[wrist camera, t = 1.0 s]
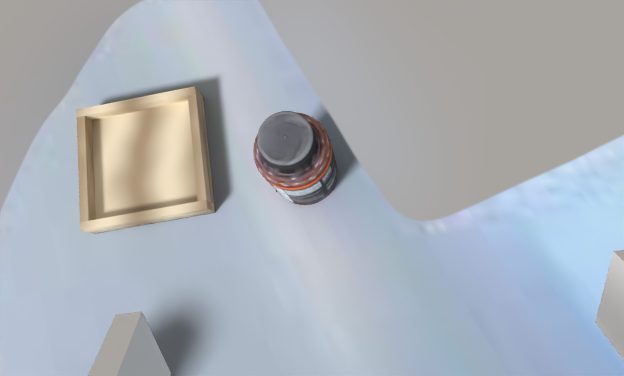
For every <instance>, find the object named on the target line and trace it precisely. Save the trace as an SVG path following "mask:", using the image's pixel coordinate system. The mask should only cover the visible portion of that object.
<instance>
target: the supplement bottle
mask: <svg viewBox="0 0 624 376" xmlns="http://www.w3.org/2000/svg"><path fill="white" fill-rule="evenodd" d="M254 160H255V163H256V166H257V168H258V170H259V171H260V173H261V174H262V175H263V177H264V178H265V179H266V180H267V181H268V182H269V183H270V184H271V185H272V186H273V187H274V188H275V189H276V192H277V191H278V192H279V193H280V194H281V195H282V196H283V197H284V198H286V199H287V200H289V201H291V202H293V203H295V204H299V205H310V204H315V203H317V202H319V201H321V200H323V199H324V198H326V197H327V196H328V195H329V194H330V192H331V191H332V189H333V188H334V186H335V183H336V180H337V166H336V161H335V158H334V154H333V150H332V146H331V143H330V139H329V137H328V135H327V132H326V131H325V129H324V128H323V126H322V125H321V124H320V123H319V122H318V121H317V120H315V119H314V118H312V117H310V116H308V115H305V114H302V113H295V112H291V111H282V112H278V113H275V114H273V115H271V116H270V117H268V118H267V119H266V120H265V121H264V122H263V124H262V125H261V127H260V129H259V132H258V135H257V137H256V139H255V143H254Z"/></svg>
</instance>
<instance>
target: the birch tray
mask: <svg viewBox="0 0 624 376" xmlns="http://www.w3.org/2000/svg"><path fill="white" fill-rule="evenodd" d="M77 138H78V169H79V199H80V230H81V231H84V232H89V233H94V234H96V233H101V232H107V231H113V230H118V229H124V228H130V227H136V226H141V225H147V224H153V223H158V222H164V221H170V220H176V219H181V218H187V217H193V216H198V215H204V214H210V213H215V205H214V196H213V186H212V177H211V167H210V157H209V148H208V138H207V128H206V119H205V109H204V100H203V95H202V94H201V93H200V92H199V90H198V89H197V88H196V87H195V86H193V87H188V88H183V89H178V90H173V91H168V92H163V93H158V94H153V95H148V96H143V97H138V98H133V99H128V100H123V101H118V102H113V103H108V104H103V105H98V106H93V107H88V108H83V109H78V110H77Z"/></svg>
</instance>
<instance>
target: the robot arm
mask: <svg viewBox="0 0 624 376" xmlns="http://www.w3.org/2000/svg"><path fill="white" fill-rule="evenodd" d="M595 323H596V324H597V325H598V327H599V328H600V329H601V331H602V332H603V333H604V335H605V336H606V337H607V339H608V340H609V341H610V343H611V344H612V346H613V347H614V348H615V350H616V351H617V352H618V354H619V355H620V356H621V358H622V359H623V360H624V250H620V251H614V252H613V256H612V259H611V263H610V267H609V271H608V275H607V279H606V282H605V286H604V290H603V294H602V298H601V302H600V305H599V309H598V313H597V317H596V321H595ZM88 376H171V372H170V370H169V368H168V366H167V364H166V362H165V359H164V357H163V355H162V353H161V351H160V349H159V347H158V345H157V342H156V340H155V338H154V336H153V334H152V332H151V330H150V328H149V326H148V323H147V321H146V319H145V317H144V315H143V313H142V312H135V313H127V314H119V315H116V316H115V318H114V320H113V322H112V324H111V326H110V329H109V331H108V333H107V335H106V337H105V340H104V342H103V344H102V346H101V348H100V350H99V353H98V355H97V357H96V359H95V361H94V364H93V366H92V368H91V370H90V372H89V374H88Z"/></svg>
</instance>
